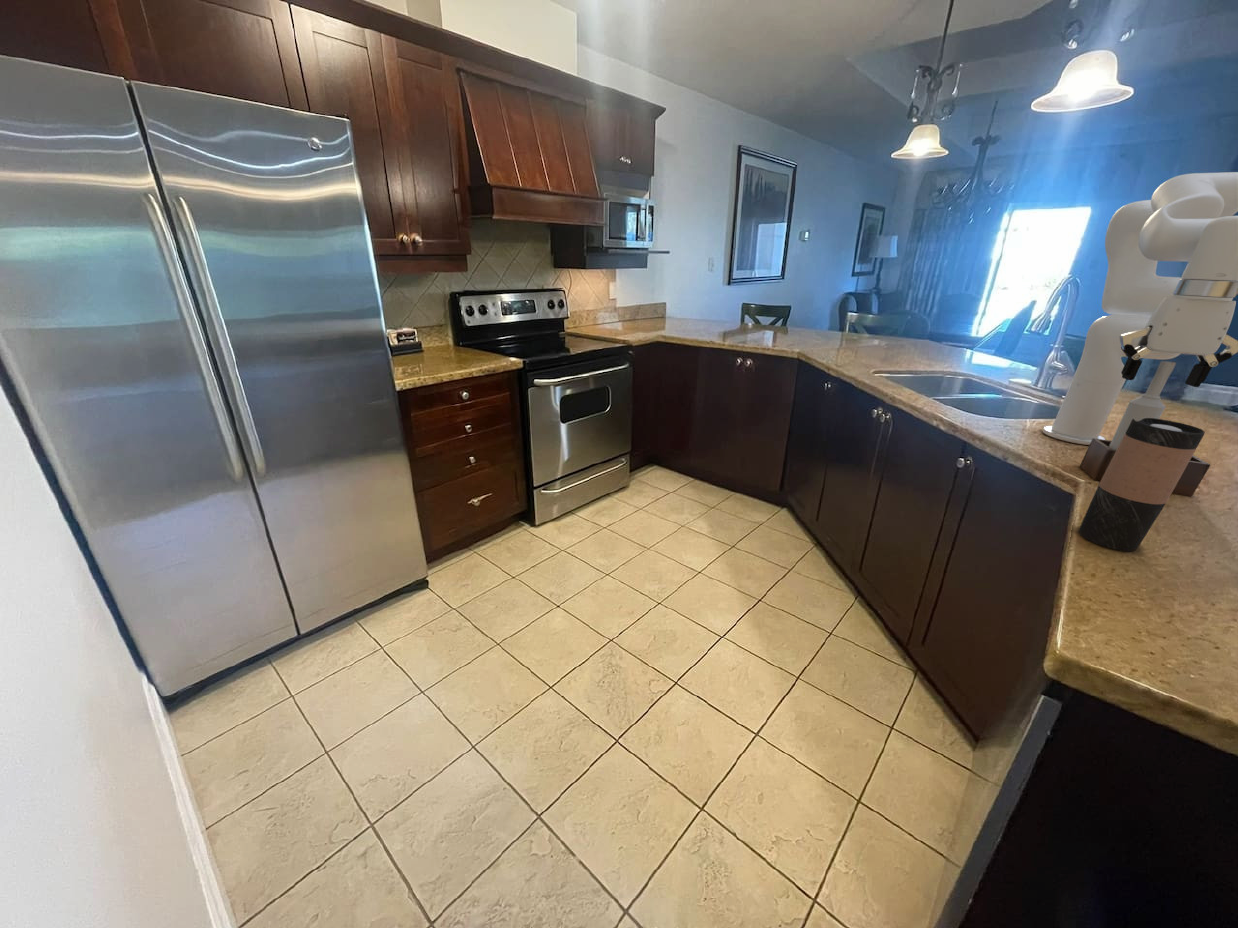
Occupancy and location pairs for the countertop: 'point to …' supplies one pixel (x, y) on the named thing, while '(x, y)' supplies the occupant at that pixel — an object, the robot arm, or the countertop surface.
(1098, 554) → the countertop surface
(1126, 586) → the countertop surface
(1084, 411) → the robot arm
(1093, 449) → the dark brown box
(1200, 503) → the countertop surface
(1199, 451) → the countertop surface
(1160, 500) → the travel mug
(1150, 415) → the bottle
